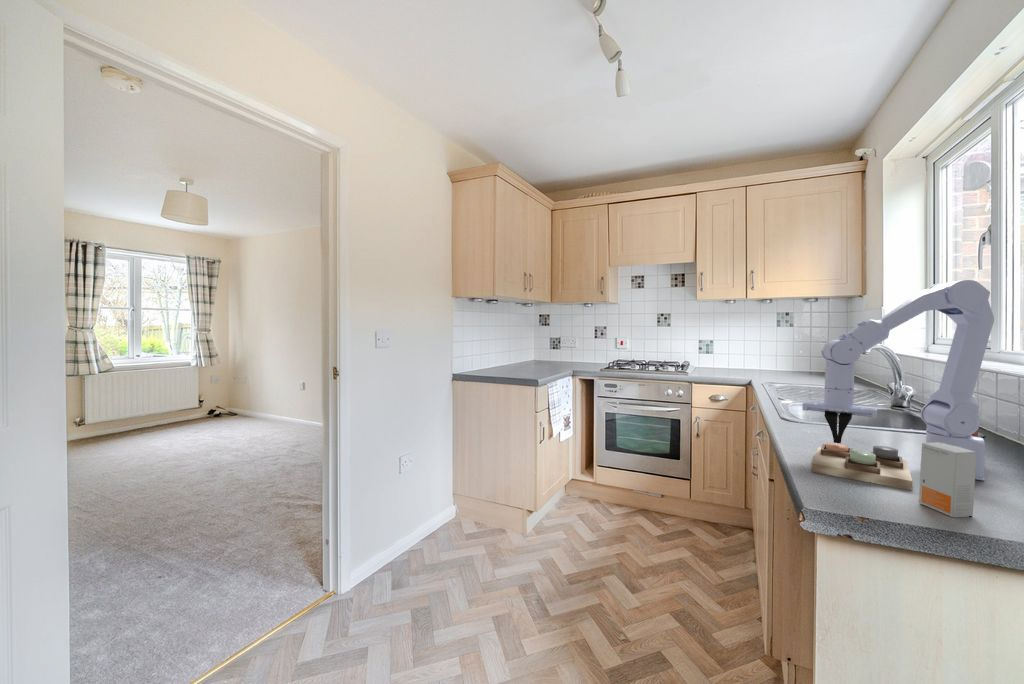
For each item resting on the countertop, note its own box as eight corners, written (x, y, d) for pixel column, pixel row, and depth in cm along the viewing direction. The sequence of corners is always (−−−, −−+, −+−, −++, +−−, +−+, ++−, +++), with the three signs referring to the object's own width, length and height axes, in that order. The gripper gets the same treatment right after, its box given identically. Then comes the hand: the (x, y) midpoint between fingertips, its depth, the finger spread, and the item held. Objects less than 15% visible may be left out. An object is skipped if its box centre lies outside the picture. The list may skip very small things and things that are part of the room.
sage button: (875, 460, 95) (875, 452, 95) (875, 465, 92) (875, 457, 92) (850, 456, 98) (850, 449, 98) (849, 461, 95) (850, 453, 94)
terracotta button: (848, 452, 105) (848, 445, 105) (847, 456, 102) (847, 449, 102) (826, 449, 108) (826, 442, 108) (825, 453, 105) (825, 446, 105)
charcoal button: (897, 455, 99) (897, 448, 98) (898, 460, 95) (898, 452, 95) (872, 451, 101) (872, 444, 101) (872, 456, 98) (873, 448, 98)
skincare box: (917, 503, 81) (920, 442, 80) (937, 502, 81) (940, 441, 81) (953, 518, 75) (956, 452, 74) (974, 517, 75) (978, 451, 75)
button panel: (906, 468, 100) (907, 455, 100) (911, 490, 87) (912, 475, 87) (818, 454, 111) (818, 442, 110) (811, 471, 98) (812, 458, 98)
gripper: (801, 387, 106) (800, 440, 106) (878, 393, 96) (875, 451, 97) (804, 384, 111) (803, 434, 112) (877, 389, 102) (875, 444, 102)
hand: (837, 442), depth 105 cm, fingers closed
